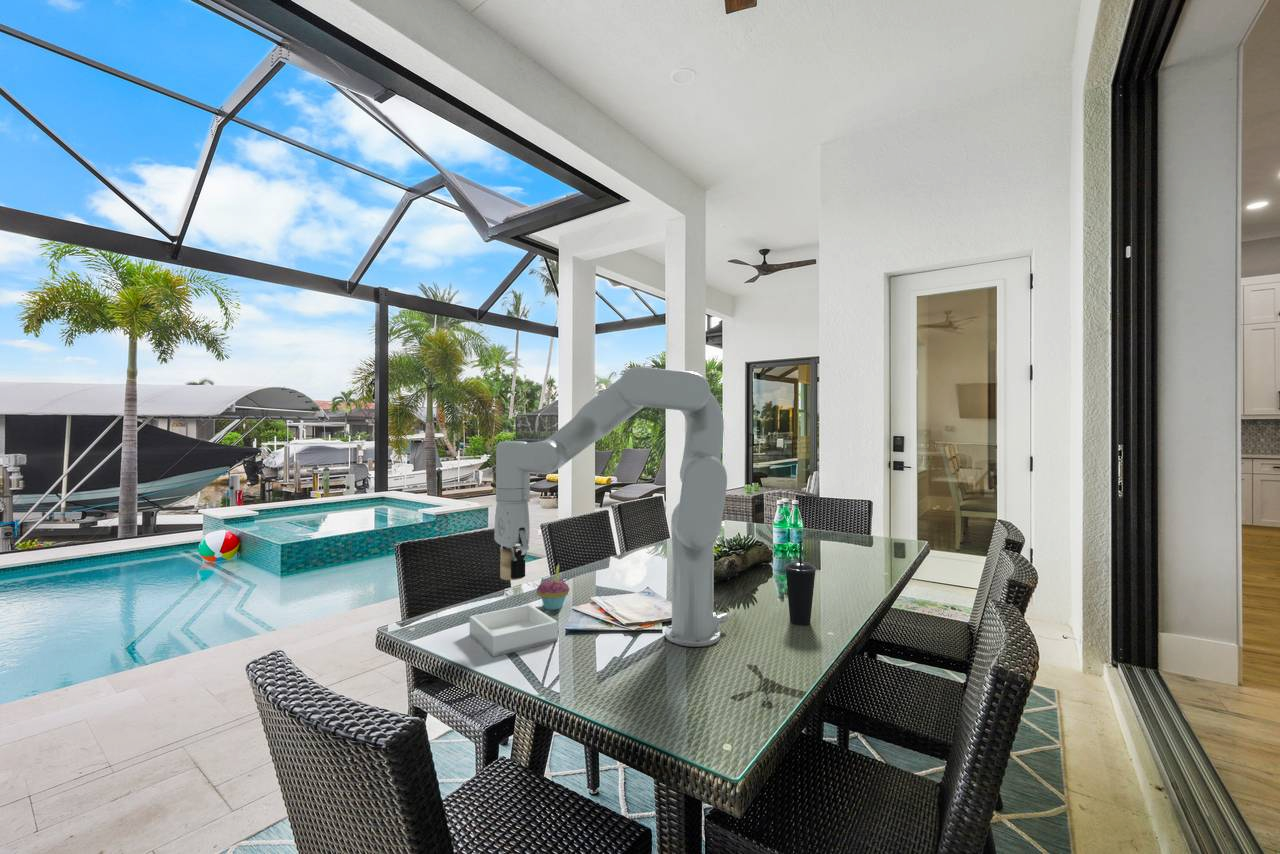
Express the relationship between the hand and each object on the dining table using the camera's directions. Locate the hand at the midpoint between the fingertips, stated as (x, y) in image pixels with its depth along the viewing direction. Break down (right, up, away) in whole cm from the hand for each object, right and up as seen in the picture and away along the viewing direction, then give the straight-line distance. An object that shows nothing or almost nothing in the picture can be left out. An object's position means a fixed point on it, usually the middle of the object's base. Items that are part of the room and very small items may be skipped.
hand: (512, 573), depth 127 cm
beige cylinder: (0, -1, 0) cm, 1 cm away
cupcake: (+6, -15, +21) cm, 27 cm away
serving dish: (0, -15, 0) cm, 15 cm away
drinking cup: (+69, -15, +11) cm, 71 cm away
